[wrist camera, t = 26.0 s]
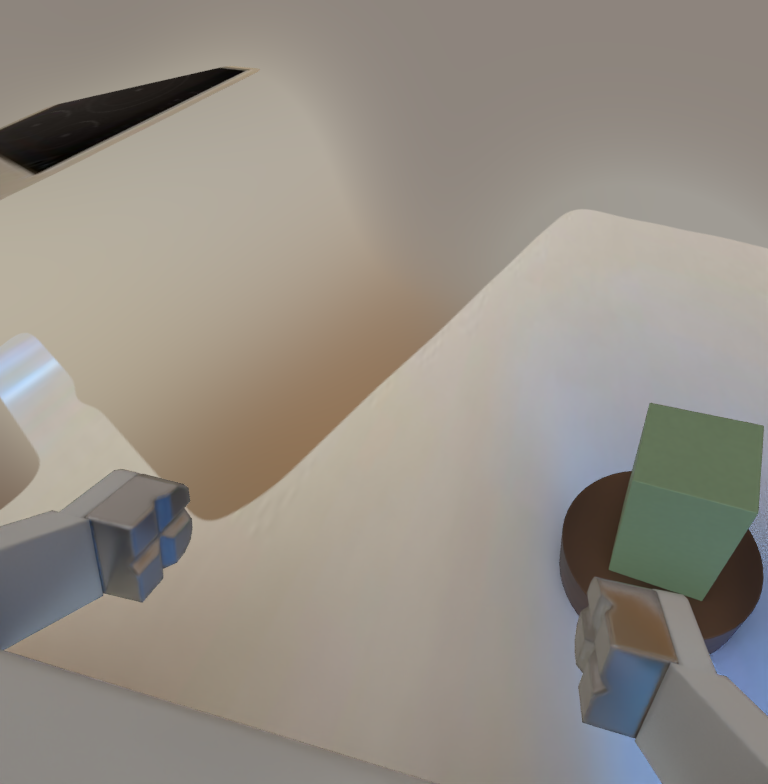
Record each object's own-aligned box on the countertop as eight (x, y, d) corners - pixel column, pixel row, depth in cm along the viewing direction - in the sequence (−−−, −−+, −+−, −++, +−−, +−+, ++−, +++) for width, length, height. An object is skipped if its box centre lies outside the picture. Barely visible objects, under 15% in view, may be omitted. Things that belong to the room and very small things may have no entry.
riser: (540, 619, 35) (541, 595, 32) (579, 482, 41) (584, 452, 38) (736, 696, 30) (758, 676, 27) (748, 528, 36) (767, 498, 33)
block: (608, 570, 32) (632, 480, 25) (623, 501, 35) (649, 402, 27) (702, 601, 30) (758, 513, 23) (711, 525, 32) (764, 425, 25)
